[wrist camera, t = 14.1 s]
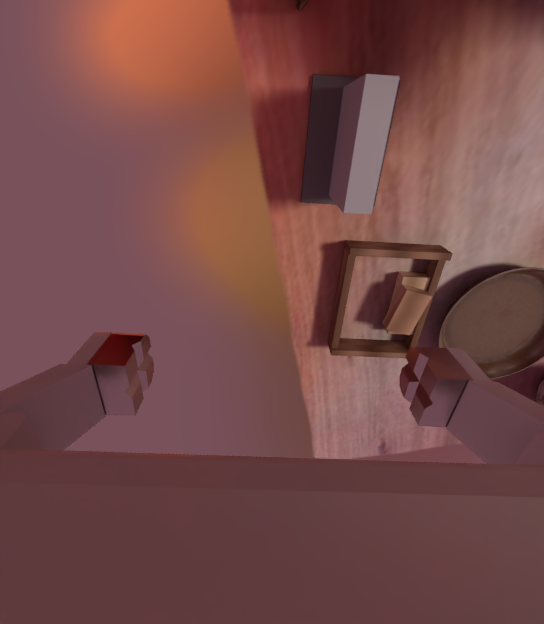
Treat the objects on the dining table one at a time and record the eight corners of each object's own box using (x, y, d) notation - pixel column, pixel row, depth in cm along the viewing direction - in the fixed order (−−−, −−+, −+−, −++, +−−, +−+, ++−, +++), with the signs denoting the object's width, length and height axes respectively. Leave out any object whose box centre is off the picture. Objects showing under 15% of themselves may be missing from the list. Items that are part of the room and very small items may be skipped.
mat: (399, 80, 37) (400, 80, 37) (373, 205, 44) (374, 206, 44) (313, 74, 37) (313, 74, 36) (300, 201, 44) (300, 202, 43)
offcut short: (426, 290, 48) (432, 296, 46) (405, 328, 51) (409, 335, 50) (402, 284, 48) (407, 290, 46) (382, 323, 51) (386, 329, 49)
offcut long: (423, 271, 49) (430, 278, 47) (406, 326, 54) (412, 334, 52) (397, 270, 49) (403, 276, 47) (383, 325, 54) (388, 333, 52)
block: (369, 88, 37) (399, 76, 28) (350, 197, 43) (371, 214, 34) (343, 87, 37) (366, 73, 28) (328, 196, 43) (343, 212, 34)
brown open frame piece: (440, 245, 47) (452, 253, 44) (407, 346, 56) (415, 358, 53) (345, 240, 46) (350, 248, 43) (327, 342, 55) (331, 355, 52)
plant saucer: (568, 242, 47) (588, 249, 44) (554, 350, 57) (569, 362, 54) (424, 282, 50) (434, 292, 47) (434, 379, 60) (442, 391, 57)
